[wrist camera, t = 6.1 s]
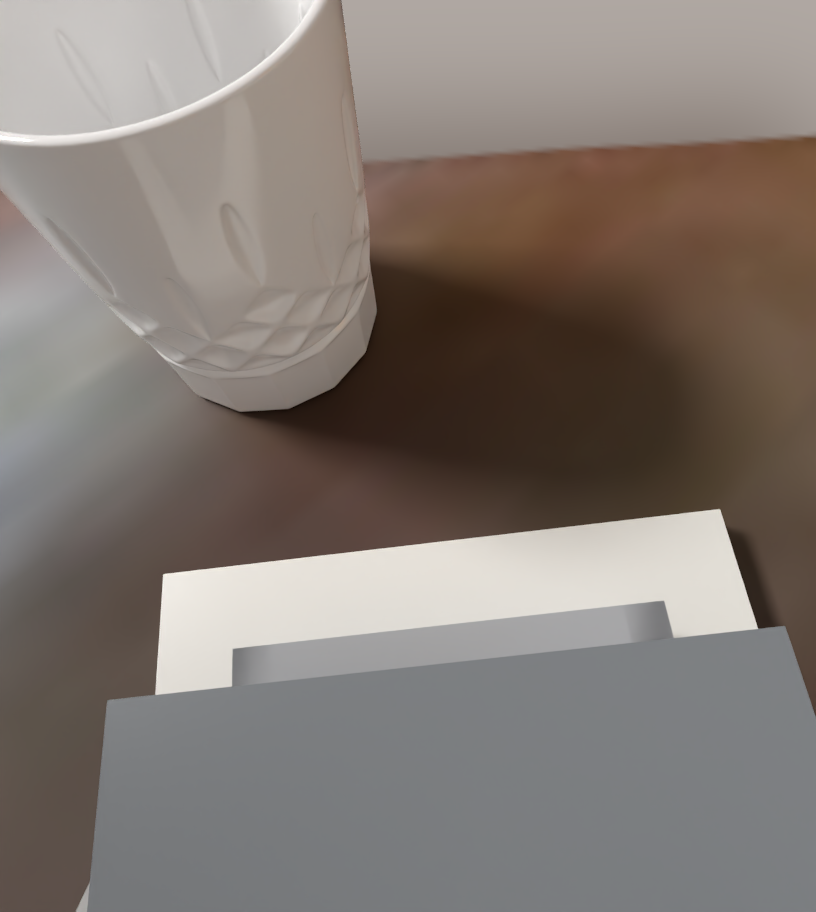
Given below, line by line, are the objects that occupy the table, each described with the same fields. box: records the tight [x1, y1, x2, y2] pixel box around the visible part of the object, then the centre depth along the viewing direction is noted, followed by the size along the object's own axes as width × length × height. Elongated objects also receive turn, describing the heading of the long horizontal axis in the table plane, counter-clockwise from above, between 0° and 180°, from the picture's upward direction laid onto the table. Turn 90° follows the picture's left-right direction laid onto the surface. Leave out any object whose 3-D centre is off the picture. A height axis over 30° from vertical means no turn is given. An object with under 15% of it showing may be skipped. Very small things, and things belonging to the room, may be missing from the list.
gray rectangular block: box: [87, 626, 816, 912], centre depth 9 cm, size 6×4×10 cm
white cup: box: [0, 0, 377, 412], centre depth 16 cm, size 8×8×10 cm
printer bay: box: [155, 509, 758, 695], centre depth 13 cm, size 14×12×4 cm
